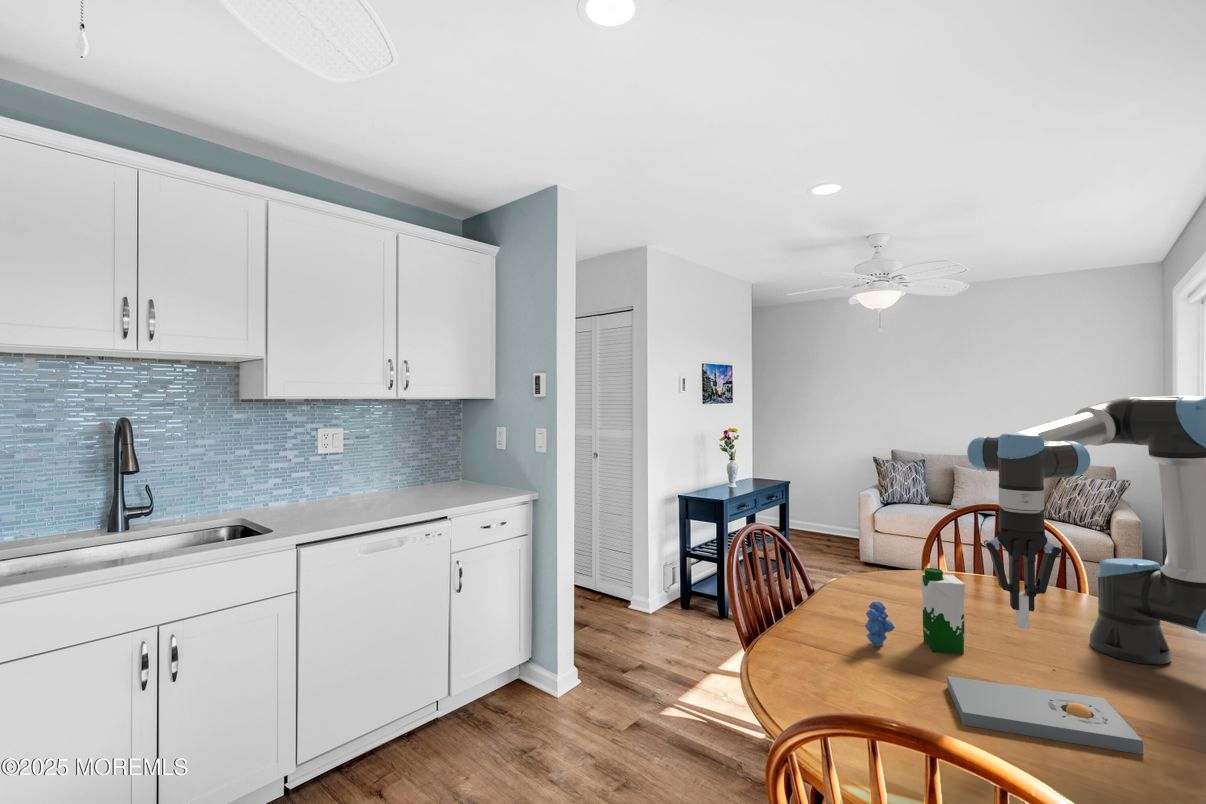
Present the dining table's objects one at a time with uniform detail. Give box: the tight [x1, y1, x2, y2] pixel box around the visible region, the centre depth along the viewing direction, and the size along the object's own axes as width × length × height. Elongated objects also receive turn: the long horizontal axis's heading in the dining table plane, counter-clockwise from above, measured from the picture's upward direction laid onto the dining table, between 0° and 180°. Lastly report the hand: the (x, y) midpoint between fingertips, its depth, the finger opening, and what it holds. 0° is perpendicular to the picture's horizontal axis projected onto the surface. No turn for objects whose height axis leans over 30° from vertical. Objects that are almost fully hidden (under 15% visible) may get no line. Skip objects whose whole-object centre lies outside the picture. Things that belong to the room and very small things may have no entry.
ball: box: [1066, 703, 1092, 718], centre depth 114 cm, size 4×4×4 cm
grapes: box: [864, 601, 895, 648], centre depth 151 cm, size 12×7×12 cm, turn 139°
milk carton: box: [920, 567, 966, 656], centre depth 150 cm, size 9×9×20 cm
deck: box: [946, 675, 1144, 755], centre depth 117 cm, size 28×16×2 cm, turn 69°
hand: (1022, 625), depth 118 cm, fingers closed
